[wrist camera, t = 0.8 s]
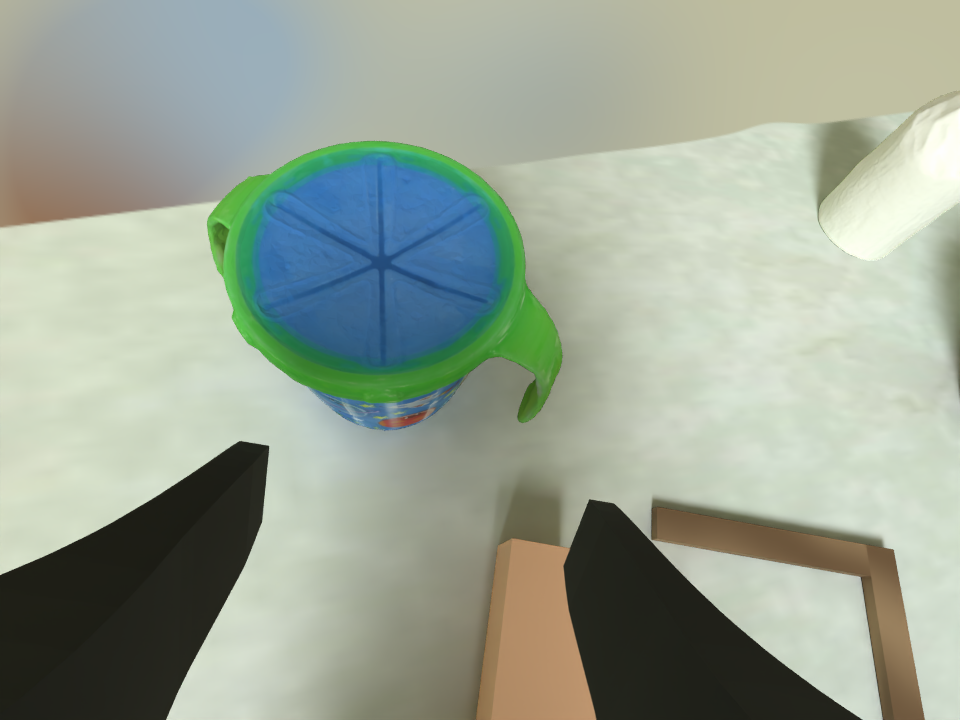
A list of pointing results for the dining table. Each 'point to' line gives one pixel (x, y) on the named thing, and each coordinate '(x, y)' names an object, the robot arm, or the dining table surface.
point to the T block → (531, 640)
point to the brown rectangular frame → (829, 555)
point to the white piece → (898, 184)
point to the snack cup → (381, 280)
